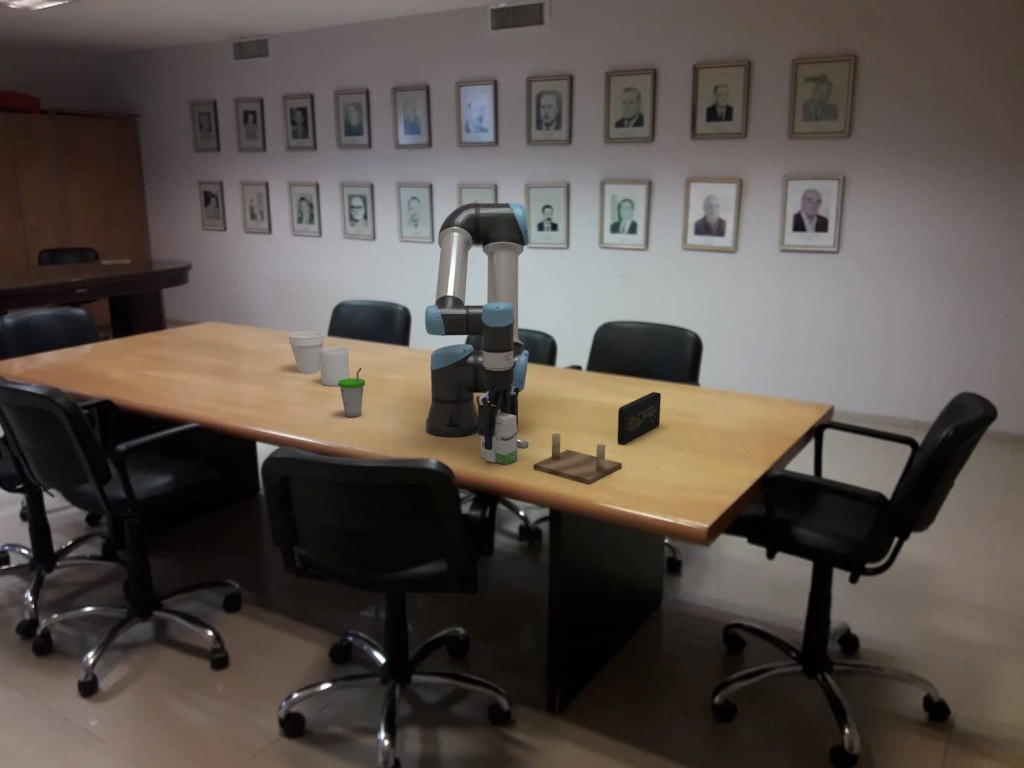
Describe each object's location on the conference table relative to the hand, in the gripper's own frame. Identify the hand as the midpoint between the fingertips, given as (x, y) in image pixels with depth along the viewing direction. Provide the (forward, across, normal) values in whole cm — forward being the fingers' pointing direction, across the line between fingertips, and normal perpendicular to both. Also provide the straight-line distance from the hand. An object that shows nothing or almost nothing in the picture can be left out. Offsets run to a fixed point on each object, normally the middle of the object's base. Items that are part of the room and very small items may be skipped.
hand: (498, 457), depth 202 cm
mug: (+1, +23, +94) cm, 97 cm away
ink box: (0, 0, 0) cm, 0 cm away
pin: (-1, +12, +4) cm, 13 cm away
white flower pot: (+1, +28, +114) cm, 117 cm away
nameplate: (+1, +39, -17) cm, 43 cm away
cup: (+1, +2, +58) cm, 58 cm away
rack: (0, +7, -19) cm, 20 cm away
